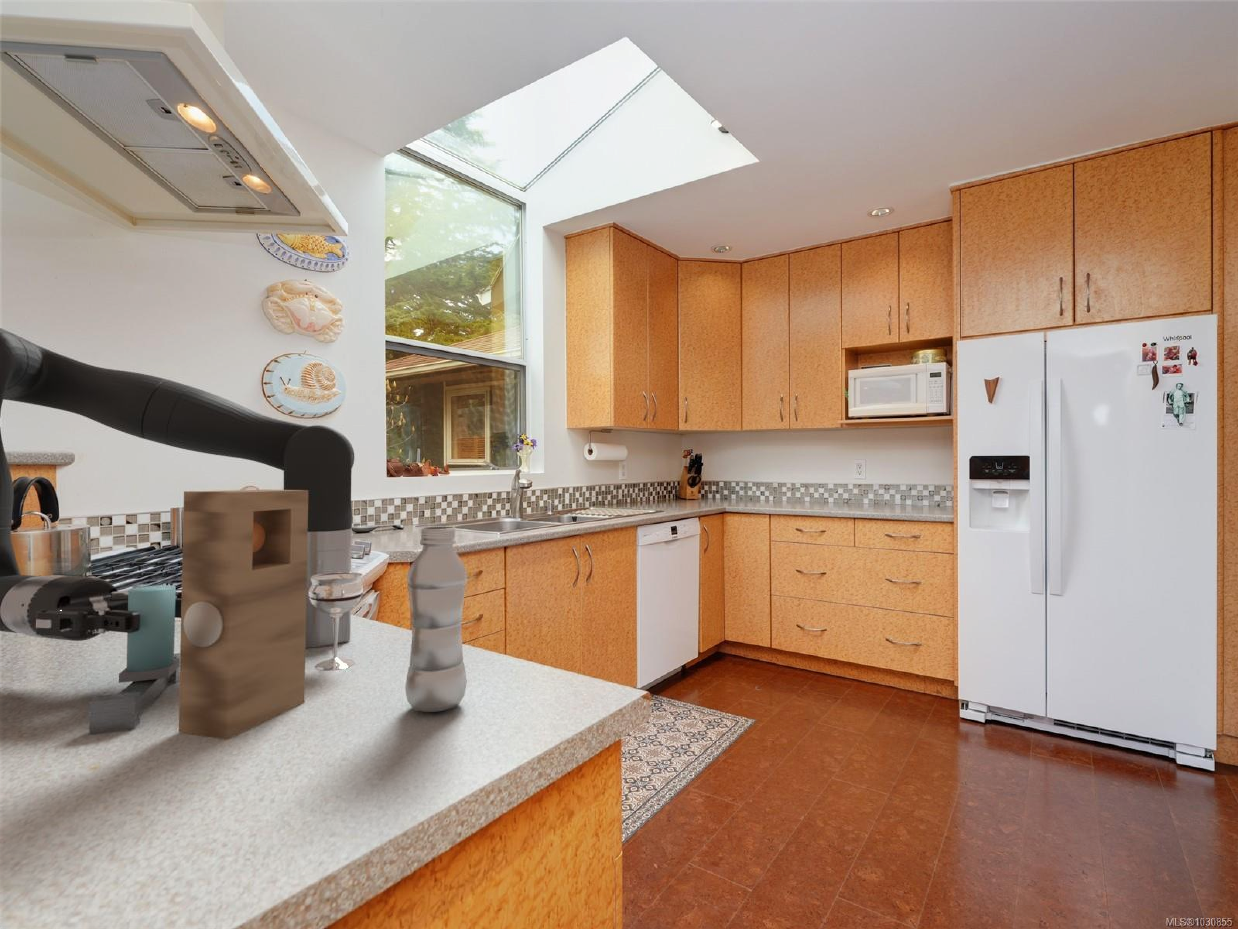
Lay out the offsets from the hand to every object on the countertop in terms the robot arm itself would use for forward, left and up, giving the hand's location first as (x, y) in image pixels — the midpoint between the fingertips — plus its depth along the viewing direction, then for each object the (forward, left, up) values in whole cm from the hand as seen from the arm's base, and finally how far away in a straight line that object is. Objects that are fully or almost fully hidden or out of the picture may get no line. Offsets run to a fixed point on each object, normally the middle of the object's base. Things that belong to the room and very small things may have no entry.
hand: (167, 615), depth 70 cm
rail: (+2, +2, -9) cm, 10 cm away
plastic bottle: (-29, +16, -9) cm, 34 cm away
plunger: (-7, +9, +8) cm, 14 cm away
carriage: (+2, -1, -7) cm, 7 cm away
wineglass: (-18, -5, -9) cm, 21 cm away
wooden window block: (-10, +11, -9) cm, 17 cm away
